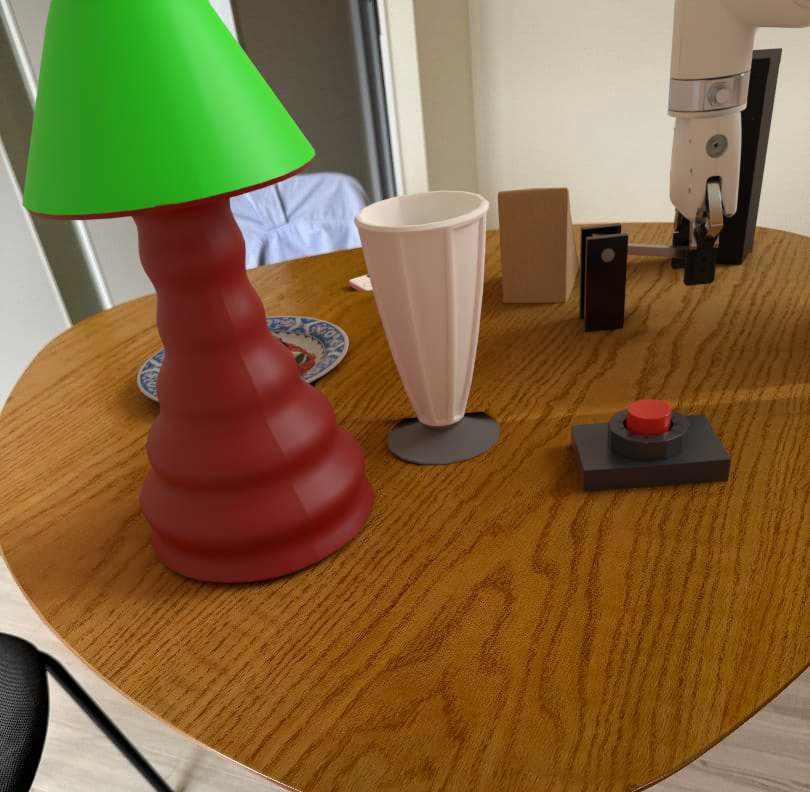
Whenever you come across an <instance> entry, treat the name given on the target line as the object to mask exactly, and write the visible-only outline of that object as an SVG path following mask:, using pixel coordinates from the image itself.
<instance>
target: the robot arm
mask: <svg viewBox="0 0 810 792" xmlns="http://www.w3.org/2000/svg"><path fill="white" fill-rule="evenodd" d="M673 5H674V6H673V7H674V8H673V23H672V24H673V25H672V37H671V39H672V40H671V51H670V52H671V54H670V70H669V84H668V101H667V116H669V117H671V118H675V119H674V120H675V121H674V127H673V137H672V146H671V158H670V170H669V186H668V187H669V193H668V194H669V200H670V203H671V204H672V205H673V206H674V207H675V208H674V212H675V213H674V220H673V233H672V243H671V246H681V244H682V242H683V241H685V240H690V248H686V255H685V258H674V257H670V268H671V269H673V270H679V269H683V278H682V279H683V284H684V286H686V287H690V286H700V285H708V284H709V285H711V284H712V283H714V281H715V276H716V269H717V268H716V267H717V264H716V259H717V249H718V245H719V235H720V231H721V229H722V227H723V216H722V213H723V214H724V215H725V216H726V217H732V216H733V215H734V214H735V212H736V209H737V199H738V186H739V172H740V157H741V113H740V111H742V110H744V109H746V105H747V96H748V87H749V78H750V69H751V62H752V53H753V50H754V42H755V36H756V34H755V28H756V27H759V28H777V29H779V28H781V29H803V28H808V27H810V0H674V4H673ZM703 211H706V216H707V217H702V215H703ZM703 223H706V224H705V227H702V228H701V229H700V226H701V224H703ZM698 229H700V230H698Z"/></svg>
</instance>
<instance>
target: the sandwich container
mask: <svg viewBox="0 0 810 792" xmlns="http://www.w3.org/2000/svg"><path fill="white" fill-rule="evenodd" d="M570 201H571V200H570V190H569V188H568V187H536V188H523V189H512V190H502V191H501V190H500V191H498V193H497V212H498V213H497V215H498V229H499V249H500V267H501V285H502V287H501V288H502V302H503V304H529V303H530V304H531V303H532V304H535V303H536V304H537V303H538V304H539V303H540V304H541V303H542V304H543V303H544V304H545V303H546V304H547V303H549V304H551V303H556V304H557V303H567V302H568V300H569V298H570V296H571V294H572V292H573V289H574V285H575V282H576V278H577V275H578V273H579V272H578V271H579V270H580V263H579V258H578V253H577V246H576V240H575V239H576V238H575V233H574V226H573V220H572V213H571V212H572V211H571V202H570Z"/></svg>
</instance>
